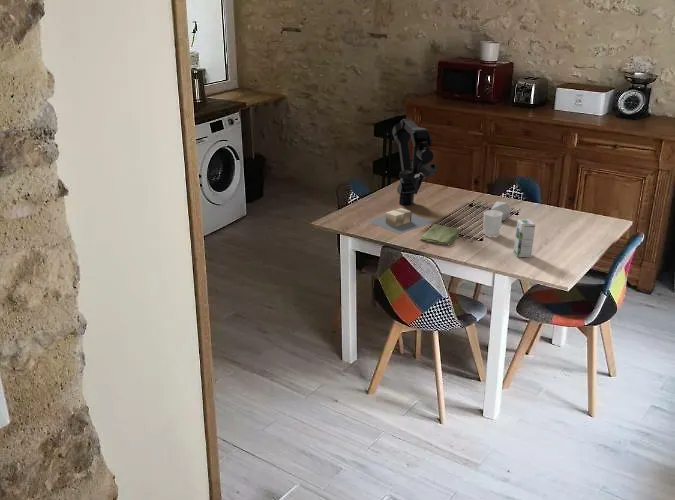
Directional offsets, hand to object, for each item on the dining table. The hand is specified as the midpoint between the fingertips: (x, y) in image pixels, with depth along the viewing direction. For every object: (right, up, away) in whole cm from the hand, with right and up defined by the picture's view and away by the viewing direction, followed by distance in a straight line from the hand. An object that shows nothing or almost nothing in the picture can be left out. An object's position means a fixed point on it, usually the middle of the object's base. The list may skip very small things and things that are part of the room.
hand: (417, 190), depth 321 cm
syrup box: (+38, -30, -38) cm, 61 cm away
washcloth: (+8, -22, -20) cm, 31 cm away
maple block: (-5, -11, -6) cm, 14 cm away
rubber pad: (-8, -16, -6) cm, 19 cm away
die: (+38, -13, +1) cm, 40 cm away
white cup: (+30, -21, -18) cm, 41 cm away
